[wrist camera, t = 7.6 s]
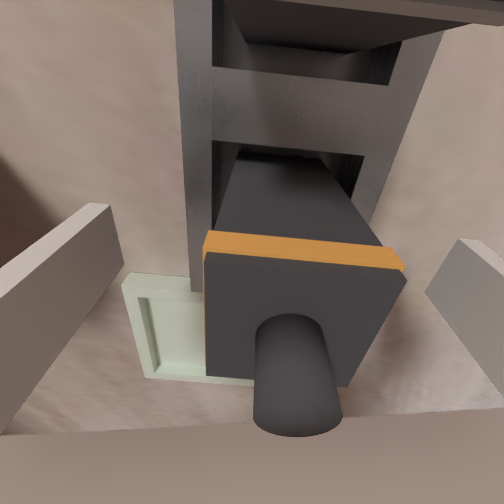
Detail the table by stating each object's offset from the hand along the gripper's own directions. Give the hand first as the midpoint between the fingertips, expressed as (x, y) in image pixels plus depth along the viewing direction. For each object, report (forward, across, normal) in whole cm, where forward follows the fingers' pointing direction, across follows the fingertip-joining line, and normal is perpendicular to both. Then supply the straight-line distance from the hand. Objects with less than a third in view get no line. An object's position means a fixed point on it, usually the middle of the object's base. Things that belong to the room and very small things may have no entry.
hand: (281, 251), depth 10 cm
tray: (+6, -4, -14) cm, 15 cm away
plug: (+6, 0, 0) cm, 6 cm away
